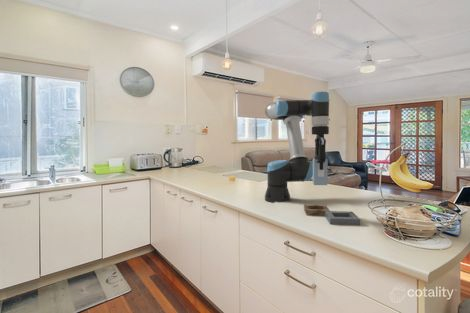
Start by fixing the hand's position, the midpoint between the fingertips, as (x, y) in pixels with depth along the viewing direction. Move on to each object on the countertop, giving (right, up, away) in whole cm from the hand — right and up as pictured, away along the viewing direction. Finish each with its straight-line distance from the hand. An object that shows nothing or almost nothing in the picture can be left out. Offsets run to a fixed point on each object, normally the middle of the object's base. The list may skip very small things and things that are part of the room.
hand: (320, 175), depth 115 cm
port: (+7, -20, -8) cm, 22 cm away
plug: (0, -4, 0) cm, 4 cm away
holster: (-1, -19, +4) cm, 19 cm away
